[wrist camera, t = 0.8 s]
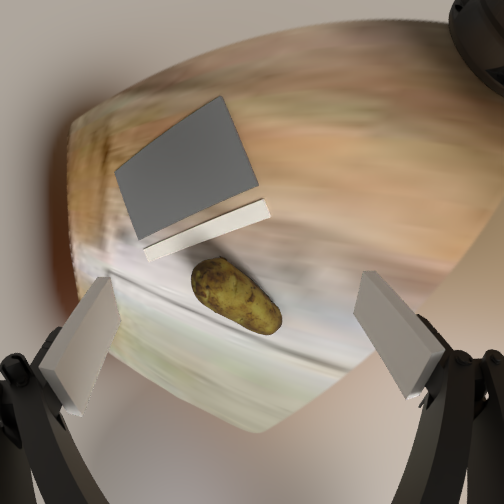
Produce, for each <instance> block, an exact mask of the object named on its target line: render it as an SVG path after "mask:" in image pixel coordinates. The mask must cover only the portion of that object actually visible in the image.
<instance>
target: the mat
mask: <svg viewBox="0 0 504 504" xmlns="http://www.w3.org/2000/svg"><path fill="white" fill-rule="evenodd" d="M114 173H115V176H116V179H117V182H118V185H119V188H120V191H121V194H122V197H123V200H124V202H125V205H126V208H127V211H128V213H129V216H130V219H131V222H132V224H133V227H134V229H135V232H136V235H137V237H138V240H141V239H143V238H145V237H147V236H149V235H151V234H153V233H155V232H157V231H159V230H161V229H163V228H165V227H167V226H169V225H171V224H173V223H175V222H178V221H180V220H182V219H184V218H186V217H188V216H190V215H193V214H195V213H197V212H199V211H201V210H203V209H206V208H208V207H210V206H212V205H215V204H217V203H219V202H221V201H224V200H226V199H228V198H230V197H233V196H235V195H237V194H240V193H242V192H244V191H247V190H249V189H252V188H254V187H256V186H259V184H258V182H257V179H256V177H255V174H254V172H253V169H252V167H251V164H250V162H249V159H248V157H247V154H246V152H245V150H244V147H243V145H242V142H241V140H240V137H239V135H238V133H237V130H236V128H235V125H234V123H233V121H232V118H231V116H230V114H229V111H228V109H227V107H226V104H225V102H224V100H223V97H222V96H219V97H218V98H216V99H214V100H213V101H211V102H209V103H208V104H206V105H205V106H203V107H202V108H200V109H198V110H197V111H195V112H194V113H192V114H191V115H189V116H188V117H186V118H185V119H183V120H182V121H180V122H179V123H177V124H176V125H175V126H173V127H172V128H170V129H169V130H168V131H166V132H165V133H163V134H162V135H161V136H159V137H158V138H157V139H155V140H154V141H153V142H151V143H150V144H149V145H147V146H146V147H145V148H143V149H142V150H141V151H140V152H138V153H137V154H136V155H135V156H133V157H132V158H131V159H130V160H128V161H127V162H126V163H125V164H124V165H122V166H121V167H120V168H119V169H118V170H116V171H115V172H114Z"/></svg>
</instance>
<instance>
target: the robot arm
mask: <svg viewBox="0 0 504 504" xmlns="http://www.w3.org/2000/svg"><path fill="white" fill-rule="evenodd" d="M449 29H450V33H451V36H452V39H453V41H454V44H455V46H456V48H457V50H458V51H459V53H460V55H461V56H462V58H463V59H464V61H465V62H466V64H467V65H468V66H469V68H470V69H471V70H472V71H473V72H474V73H475V74H476V76H477V77H478V78H479V79H480V80H481V81H483V82H484V83H485V84H486V85H487V86H488V87H490V88H491V89H492V90H494V91H495V92H497V93H498V94H500V95H501V96H503V97H504V0H455V1H454V3H453V5H452V8H451V10H450V13H449ZM353 314H354V315H355V317H356V318H357V320H358V322H359V323H360V325H361V326H362V328H363V329H364V331H365V333H366V334H367V336H368V337H369V339H370V341H371V342H372V344H373V345H374V347H375V349H376V350H377V352H378V353H379V355H380V357H381V358H382V360H383V362H384V363H385V365H386V367H387V368H388V370H389V372H390V373H391V375H392V377H393V379H394V380H395V382H396V384H397V385H398V387H399V389H400V391H401V392H402V394H403V396H404V397H405V399H406V400H407V399H410V398H413V397H416V396H419V395H420V393H421V392H422V390H423V389H424V387H426V388H427V390H428V393H427V394H426V396H425V397H424V399H423V400H422V402H421V403H420V405H419V408H421V406H422V405H423V404H424V405H423V409H422V414H421V418H420V422H419V426H418V429H417V433H416V437H415V440H414V443H413V447H412V450H411V453H410V456H409V459H408V462H407V465H406V468H405V471H404V474H403V476H402V479H401V482H400V484H399V486H398V489H397V491H396V494H395V496H394V498H393V501H392V503H391V504H459V500H460V496H461V492H462V488H463V484H464V480H465V475H466V470H467V482H468V485H467V487H468V488H467V504H504V356H503V355H502V354H501V353H500V352H499V351H497V350H493V349H491V350H488V351H486V353H485V354H484V356H483V358H482V359H473V358H472V357H471V356H470V355H469V354H468V353H466V352H464V351H462V350H453V349H452V348H451V347H450V345H449V344H448V343H447V342H446V341H445V339H444V338H443V337H442V336H441V335H440V334H439V333H437V330H436V329H435V328H433V326H432V325H431V324H430V323H429V321H428V320H427V319H425V318H424V317H422V316H420V315H419V314H415V313H414V312H413V311H412V310H411V309H410V308H409V306H408V305H407V304H406V303H405V302H404V301H403V300H402V299H401V298H400V297H399V296H398V294H397V293H396V292H395V291H394V290H393V289H392V288H391V287H390V286H389V285H388V284H387V283H386V282H385V281H384V280H383V278H382V277H381V276H380V275H379V274H378V273H377V272H376V271H363V274H362V278H361V283H360V288H359V292H358V296H357V301H356V305H355V309H354V313H353ZM120 322H121V318H120V314H119V311H118V307H117V303H116V299H115V295H114V291H113V287H112V282H111V278H110V277H97V279H96V280H95V281H94V283H93V284H92V285H91V287H90V288H89V290H88V291H87V292H86V294H85V295H84V297H83V298H82V299H81V301H80V302H79V304H78V305H77V307H76V308H75V309H74V311H73V312H72V314H71V315H70V317H69V318H68V320H67V321H66V323H65V324H64V326H63V327H57V328H56V329H55V330H54V331H52V332H51V333H50V334H49V336H48V338H47V339H46V342H44V344H43V345H42V348H41V349H40V350H39V352H38V353H37V355H36V356H35V358H34V360H33V362H32V363H31V365H29V364H28V362H27V360H26V358H25V357H24V355H22V354H20V353H14V354H10V355H9V356H7V357H6V358H5V359H4V360H3V361H2V362H1V364H0V372H1V373H2V375H3V376H4V378H5V379H6V380H0V504H37V503H36V498H35V493H34V488H33V482H32V476H31V470H32V473H33V476H34V478H35V481H36V483H37V486H38V488H39V490H40V493H41V495H42V497H43V499H44V502H45V504H109V502H108V501H107V499H106V498H105V496H104V495H103V493H102V492H101V490H100V489H99V487H98V485H97V484H96V482H95V480H94V479H93V477H92V475H91V473H90V472H89V470H88V468H87V466H86V464H85V463H84V461H83V459H82V457H81V455H80V453H79V451H78V449H77V447H76V445H75V443H74V441H73V439H72V436H71V434H70V432H69V430H68V428H67V425H66V423H65V421H64V418H63V416H62V414H61V413H60V409H61V407H62V405H63V407H64V408H65V409H66V411H67V412H68V413H69V414H73V415H78V416H82V417H83V416H84V413H85V410H86V407H87V404H88V401H89V398H90V396H91V393H92V391H93V388H94V385H95V382H96V380H97V377H98V375H99V372H100V370H101V367H102V365H103V362H104V359H105V357H106V355H107V352H108V350H109V348H110V345H111V343H112V341H113V338H114V336H115V334H116V331H117V329H118V327H119V325H120ZM487 392H488V394H489V398H488V399H487V400H486V398H485V395H486V393H487ZM30 468H31V469H30Z"/></svg>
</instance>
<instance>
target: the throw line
mask: <svg viewBox="0 0 504 504" xmlns="http://www.w3.org/2000/svg"><path fill="white" fill-rule="evenodd" d="M270 217H271V215H270V212H269V210H268V207H267V205H266V202H265V199H262V200H260V201H257V202H255V203H252V204H250V205H247V206H245V207H242V208H240V209H237V210H235V211H232V212H230V213H227V214H225V215H222V216H220V217H217V218H215V219H213V220H210V221H208V222H205V223H203V224H201V225H198V226H196V227H194V228H191V229H189V230H187V231H184V232H182V233H180V234H177V235H175V236H173V237H170V238H168V239H166V240H164V241H161V242H159V243H157V244H155V245H152V246H150V247H148V248H146V249H144V252H145V255H146V257H147V259H148V262H151V261H154V260H156V259H159V258H161V257H164V256H166V255H169V254H172V253H174V252H177V251H180V250H182V249H185V248H187V247H190V246H193V245H195V244H198V243H201V242H203V241H206V240H209V239H212V238H214V237H217V236H220V235H222V234H225V233H228V232H231V231H233V230H236V229H239V228H242V227H244V226H247V225H250V224H253V223H256V222H258V221H261V220H264V219H267V218H270Z"/></svg>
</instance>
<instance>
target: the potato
mask: <svg viewBox="0 0 504 504" xmlns="http://www.w3.org/2000/svg"><path fill="white" fill-rule="evenodd" d="M219 257H220V258H213V259H208V260H205V261H202V262H201V263H199V264H198V265H197V266H196V267H195V268H194V269H193V271H192V275H191V285H192V289H193V292H194V294H195V296H196V297H197V299H198V300H199V301H200V302H201V303H202V304H203V305H205V306H206V307H208V308H210V309H211V310H213V311H214V312H215V313H218V314H220V315H222V316H224V317H226V318H228V319H230V320H233V321H234V322H236V323H238V324H240V325H241V326H243V327H245V328H246V329H249V330H251V331H253V332H256V333H258V334H263V335H271V334H273V333H275V332H276V331H277V330H278V329H279V328H280V327H281V325H282V315H281V312H280V310H279V308H278V307H277V306H276V305H275V304H274V303H272V302H271V301H270V299H269V297H268V296H267V295H266V294H265V293H264V292H263V291H262V290H261V289H260V288H259V287H258V286H257V285H256V284H255V283H254V282H253V281H252V280H251V279H250V278H248V277H247V276H246V275H244V274H243V273H242V272H240V271H239V270H238V269H237V268H235V267H234V266H233V265H232V264H230V263H229V262H227V260H226V258H223V257H221V256H219Z"/></svg>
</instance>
